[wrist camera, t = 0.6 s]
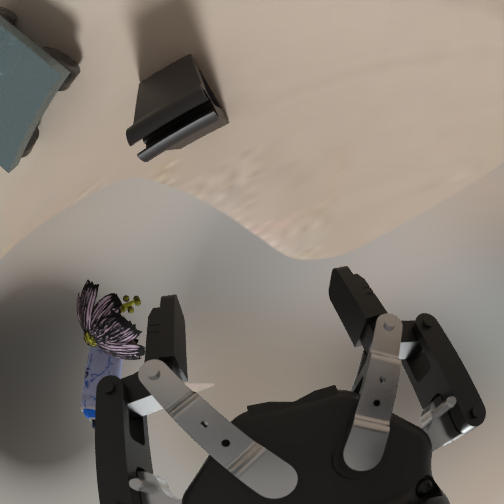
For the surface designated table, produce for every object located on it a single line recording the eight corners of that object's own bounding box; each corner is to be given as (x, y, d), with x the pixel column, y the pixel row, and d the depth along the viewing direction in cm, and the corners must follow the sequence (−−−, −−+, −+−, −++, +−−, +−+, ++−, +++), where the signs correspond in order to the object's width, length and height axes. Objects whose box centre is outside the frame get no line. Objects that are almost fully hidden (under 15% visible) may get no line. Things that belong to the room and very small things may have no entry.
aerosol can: (92, 325, 46) (77, 419, 31) (128, 336, 49) (120, 430, 34) (90, 343, 50) (78, 426, 35) (122, 352, 53) (116, 435, 38)
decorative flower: (47, 306, 28) (141, 366, 31) (91, 245, 35) (174, 296, 38) (62, 334, 38) (131, 377, 41) (91, 285, 46) (156, 324, 49)
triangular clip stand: (140, 82, 22) (98, 100, 13) (190, 53, 21) (178, 48, 12) (180, 147, 28) (167, 199, 19) (229, 122, 27) (241, 161, 18)
